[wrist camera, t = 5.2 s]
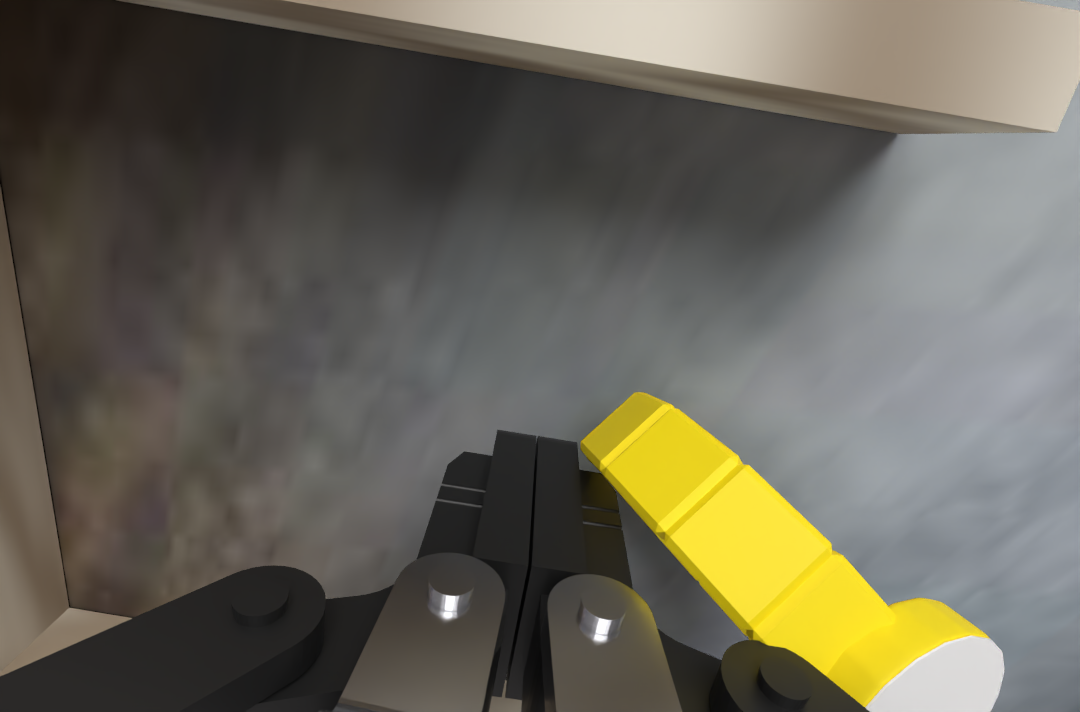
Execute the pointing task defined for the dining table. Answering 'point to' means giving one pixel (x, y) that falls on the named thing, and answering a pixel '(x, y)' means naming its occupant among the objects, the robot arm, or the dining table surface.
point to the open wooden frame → (611, 58)
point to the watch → (787, 569)
